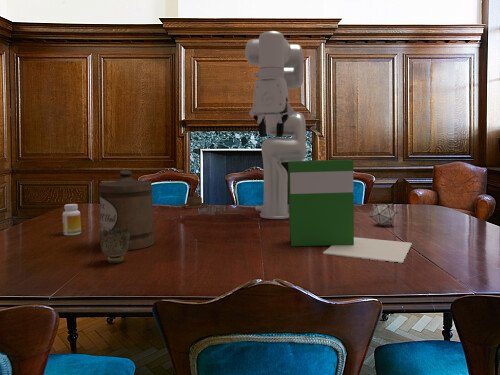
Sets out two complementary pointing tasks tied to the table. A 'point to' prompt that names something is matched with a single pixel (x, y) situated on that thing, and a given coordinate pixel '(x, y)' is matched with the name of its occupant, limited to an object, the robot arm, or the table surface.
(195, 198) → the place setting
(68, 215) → the supplement bottle
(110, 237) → the cup
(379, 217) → the game die
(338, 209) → the hardback book
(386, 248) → the desk pad
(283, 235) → the table surface
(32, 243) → the table surface
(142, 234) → the wooden container
